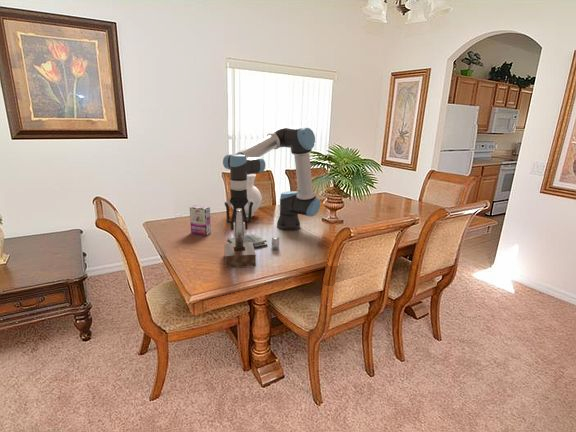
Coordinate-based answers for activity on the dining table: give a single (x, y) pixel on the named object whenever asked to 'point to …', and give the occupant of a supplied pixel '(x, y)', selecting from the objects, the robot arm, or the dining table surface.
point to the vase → (252, 195)
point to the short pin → (275, 243)
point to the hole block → (239, 255)
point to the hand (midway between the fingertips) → (239, 236)
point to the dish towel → (252, 240)
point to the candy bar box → (200, 220)
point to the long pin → (239, 229)
